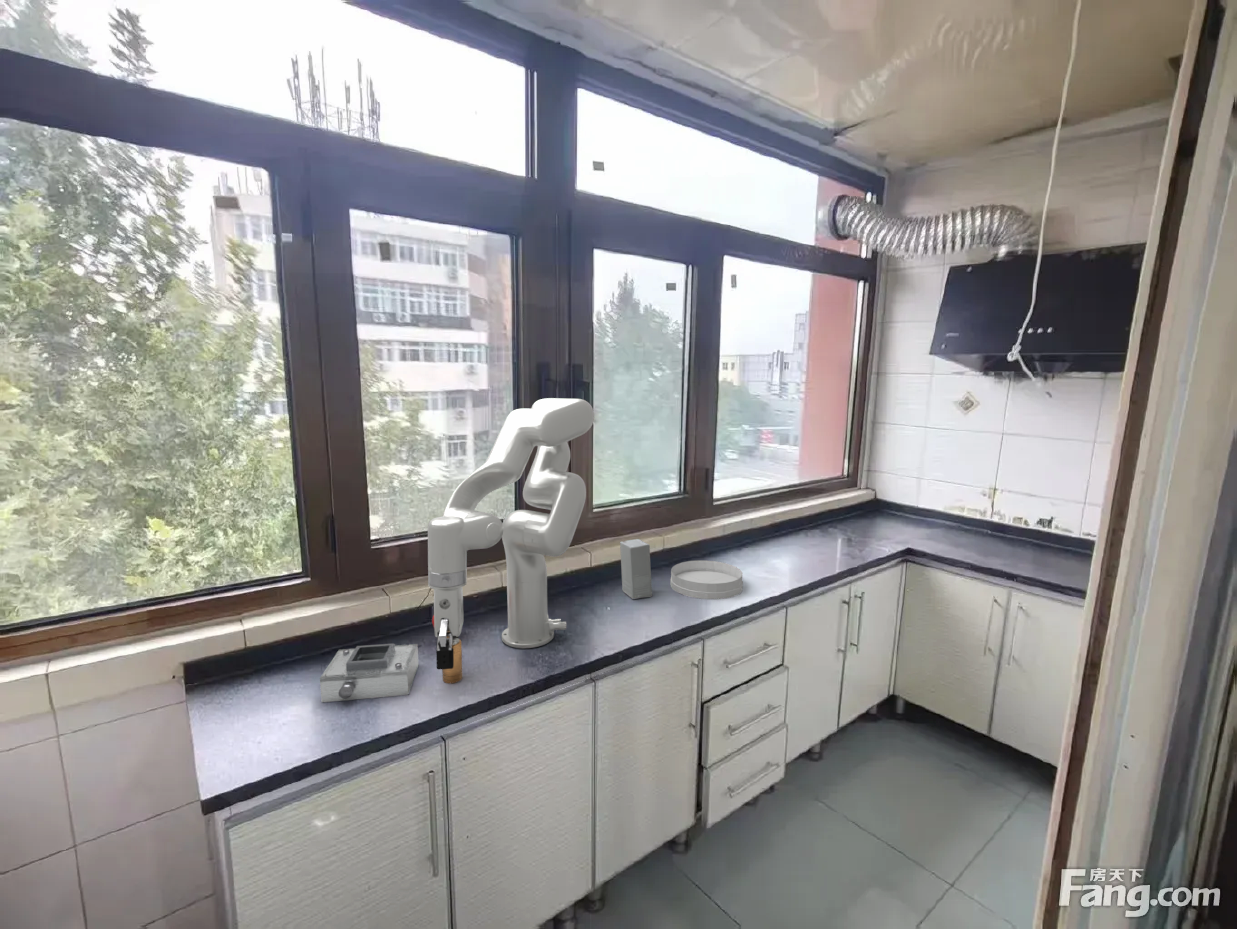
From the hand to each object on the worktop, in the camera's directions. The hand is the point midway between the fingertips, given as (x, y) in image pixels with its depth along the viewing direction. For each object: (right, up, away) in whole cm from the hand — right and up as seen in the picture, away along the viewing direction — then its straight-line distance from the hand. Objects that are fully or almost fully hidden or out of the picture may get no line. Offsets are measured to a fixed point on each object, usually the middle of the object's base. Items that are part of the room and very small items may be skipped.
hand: (448, 657), depth 116 cm
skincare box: (+40, +1, +50) cm, 64 cm away
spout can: (+1, -5, +2) cm, 5 cm away
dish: (+63, +2, +57) cm, 85 cm away
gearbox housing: (-15, -5, 0) cm, 16 cm away
